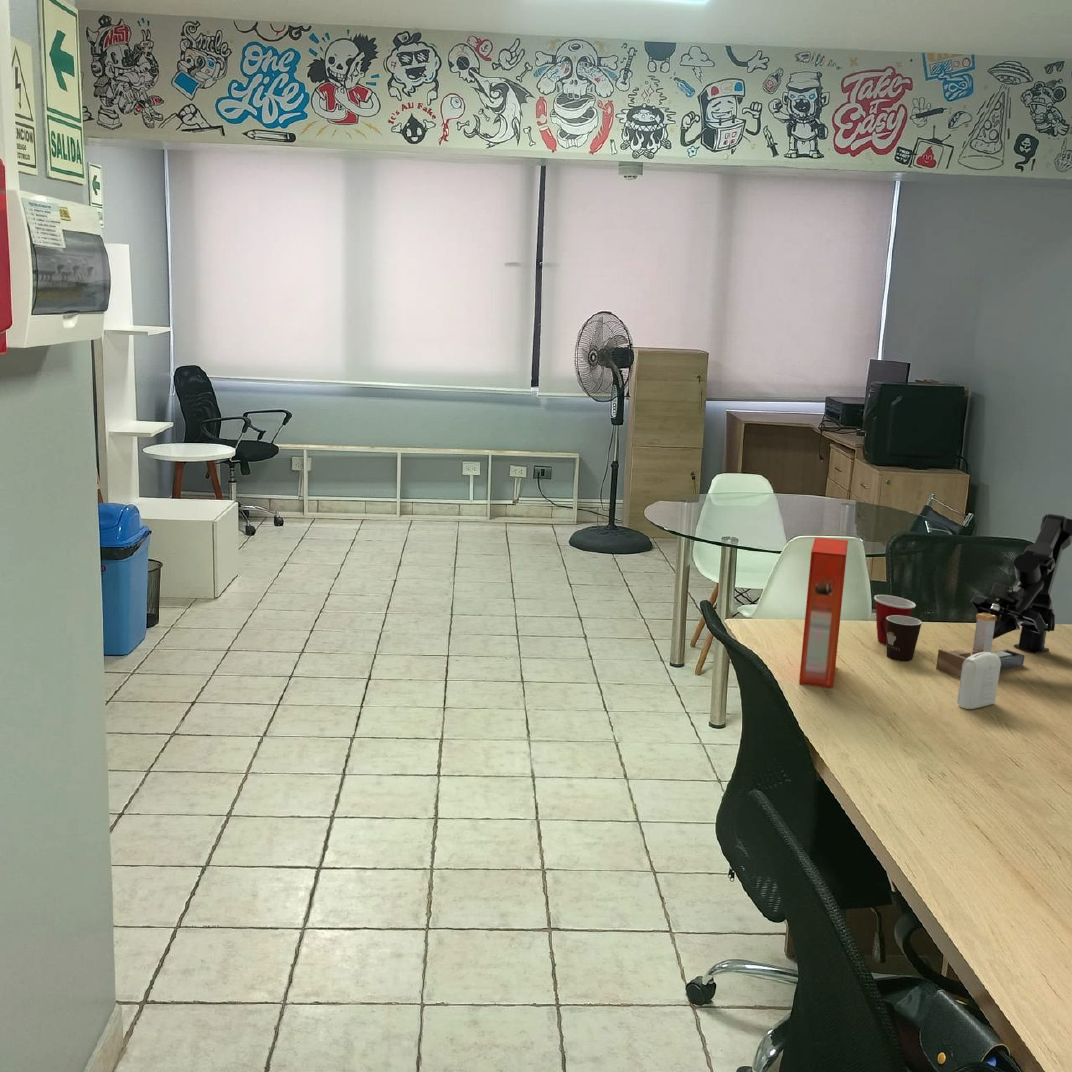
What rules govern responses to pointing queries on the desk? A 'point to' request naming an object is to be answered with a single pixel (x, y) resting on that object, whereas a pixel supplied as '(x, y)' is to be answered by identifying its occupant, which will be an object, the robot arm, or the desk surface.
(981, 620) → the grey orange-topped post
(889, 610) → the plastic cup
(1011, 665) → the sleeve
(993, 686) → the photo printer
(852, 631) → the desk surface
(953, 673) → the socket
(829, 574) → the file binder
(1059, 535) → the robot arm
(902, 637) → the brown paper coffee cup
